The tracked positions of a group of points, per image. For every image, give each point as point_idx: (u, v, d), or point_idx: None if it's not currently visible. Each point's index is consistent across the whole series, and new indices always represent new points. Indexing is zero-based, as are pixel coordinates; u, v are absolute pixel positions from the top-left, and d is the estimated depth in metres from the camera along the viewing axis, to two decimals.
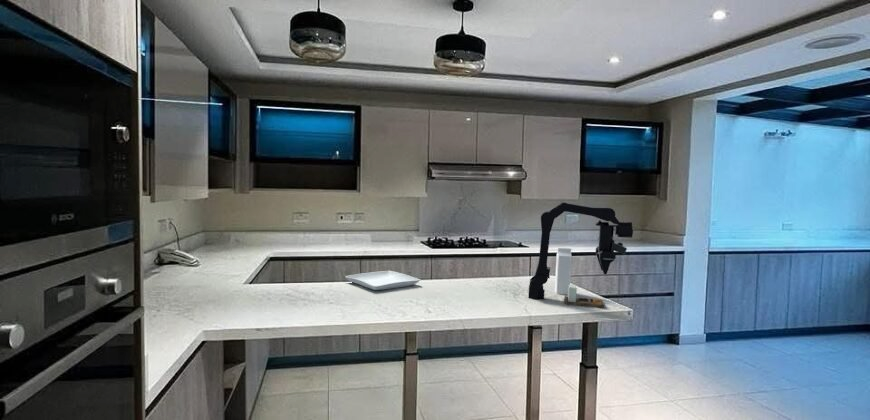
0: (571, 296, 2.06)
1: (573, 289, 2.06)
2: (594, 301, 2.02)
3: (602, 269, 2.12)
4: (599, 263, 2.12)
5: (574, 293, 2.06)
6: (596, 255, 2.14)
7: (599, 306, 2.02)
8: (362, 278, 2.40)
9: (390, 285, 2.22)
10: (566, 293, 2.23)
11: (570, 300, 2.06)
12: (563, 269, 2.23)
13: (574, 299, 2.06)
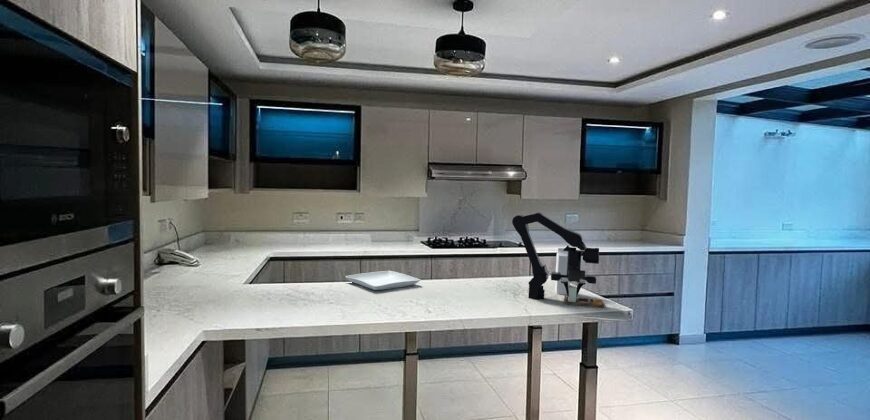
0: (571, 296, 2.06)
1: (573, 289, 2.06)
2: (594, 301, 2.02)
3: None
4: None
5: (574, 293, 2.06)
6: None
7: (599, 306, 2.02)
8: (362, 278, 2.40)
9: (390, 285, 2.22)
10: (566, 293, 2.23)
11: (570, 300, 2.06)
12: (563, 269, 2.23)
13: (574, 299, 2.06)
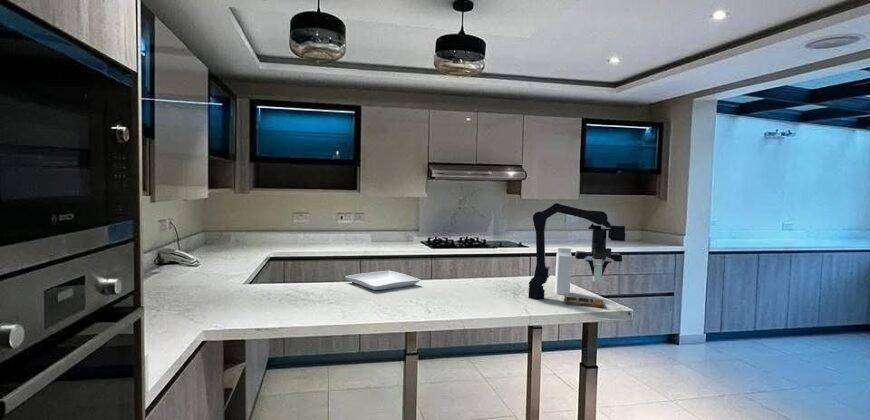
0: (596, 275, 2.03)
1: (598, 267, 2.03)
2: (594, 301, 2.02)
3: None
4: None
5: (600, 271, 2.03)
6: None
7: (599, 306, 2.02)
8: (362, 278, 2.40)
9: (390, 285, 2.22)
10: (566, 293, 2.23)
11: (595, 279, 2.03)
12: (563, 269, 2.23)
13: (600, 278, 2.03)
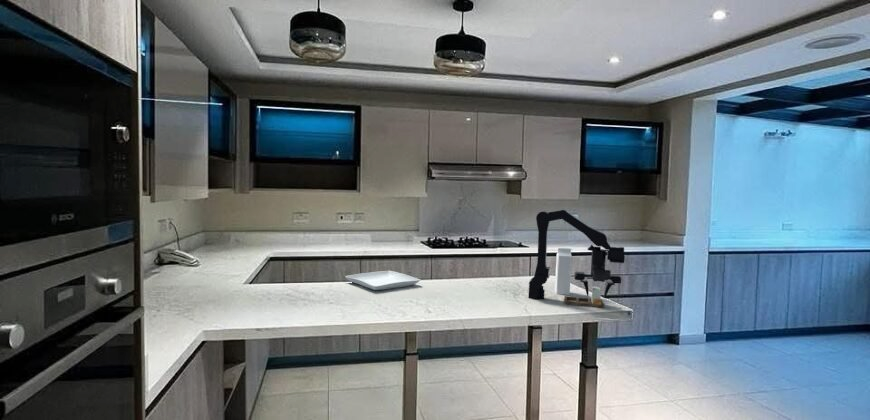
0: (595, 298, 2.04)
1: (597, 291, 2.04)
2: (594, 301, 2.02)
3: (604, 296, 2.06)
4: None
5: (598, 295, 2.04)
6: None
7: (599, 306, 2.02)
8: (362, 278, 2.40)
9: (390, 285, 2.22)
10: (566, 293, 2.23)
11: None
12: (563, 269, 2.23)
13: None
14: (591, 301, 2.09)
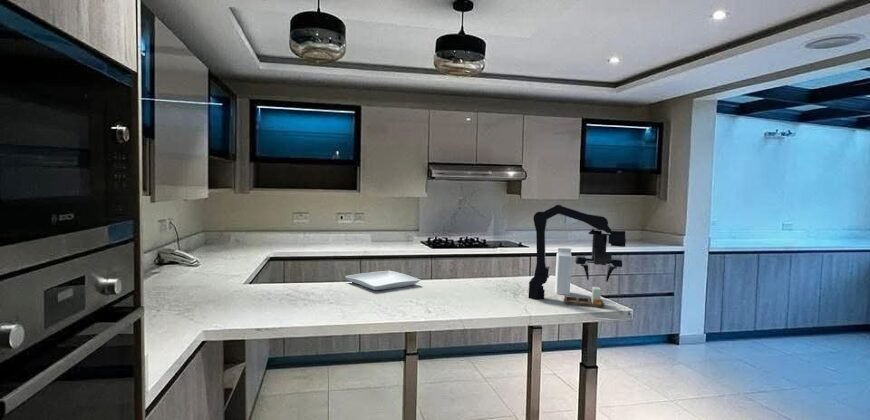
0: (595, 298, 2.04)
1: (597, 291, 2.04)
2: (594, 301, 2.02)
3: (606, 280, 2.06)
4: None
5: (598, 295, 2.04)
6: None
7: (599, 306, 2.02)
8: (362, 278, 2.40)
9: (390, 285, 2.22)
10: (566, 293, 2.23)
11: None
12: (563, 269, 2.23)
13: None
14: (591, 301, 2.09)
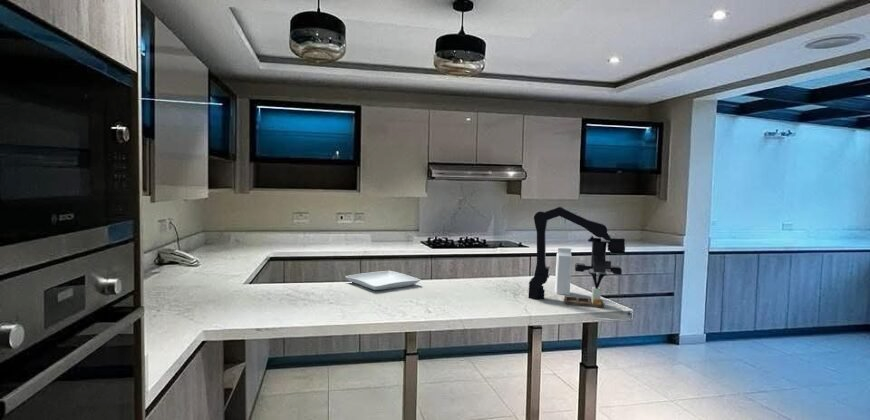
0: (595, 298, 2.04)
1: (597, 291, 2.04)
2: (594, 301, 2.02)
3: None
4: None
5: (598, 295, 2.04)
6: None
7: (599, 306, 2.02)
8: (362, 278, 2.40)
9: (390, 285, 2.22)
10: (566, 293, 2.23)
11: None
12: (563, 269, 2.23)
13: None
14: (591, 301, 2.09)
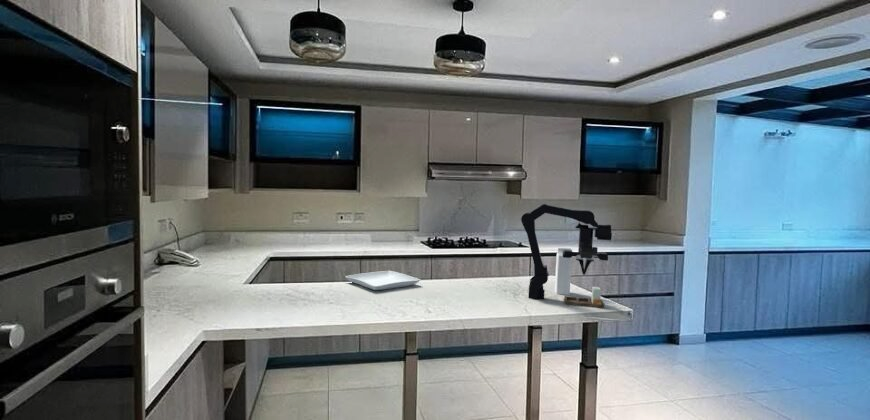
0: (595, 298, 2.04)
1: (597, 291, 2.04)
2: (594, 301, 2.02)
3: None
4: (584, 267, 2.11)
5: (598, 295, 2.04)
6: None
7: (599, 306, 2.02)
8: (362, 278, 2.40)
9: (390, 285, 2.22)
10: (566, 293, 2.23)
11: None
12: (563, 269, 2.23)
13: None
14: (591, 301, 2.09)
